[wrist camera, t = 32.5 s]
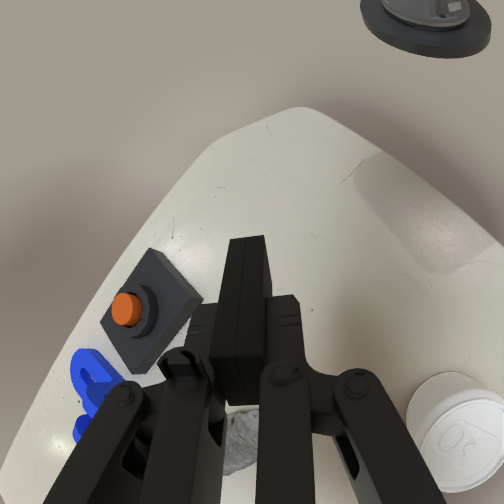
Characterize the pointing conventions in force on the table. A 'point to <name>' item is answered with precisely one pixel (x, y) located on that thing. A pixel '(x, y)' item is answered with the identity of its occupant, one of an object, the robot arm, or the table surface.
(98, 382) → the bracket
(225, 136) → the table surface
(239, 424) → the grey ridged oval piece
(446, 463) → the beverage can
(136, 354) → the push button base
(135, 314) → the switch
